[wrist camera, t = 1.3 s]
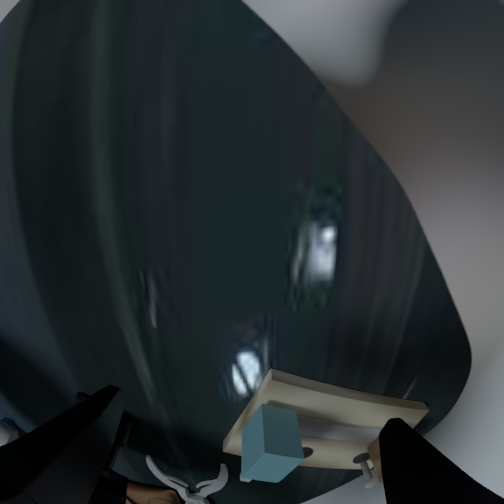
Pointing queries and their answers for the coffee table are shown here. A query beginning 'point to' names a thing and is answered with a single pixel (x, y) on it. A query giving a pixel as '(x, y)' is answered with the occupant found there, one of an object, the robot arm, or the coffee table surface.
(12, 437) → the electric motor
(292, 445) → the teal block
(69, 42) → the coffee table surface
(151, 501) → the sunglasses case
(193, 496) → the pliers
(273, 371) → the beige board with blocks
